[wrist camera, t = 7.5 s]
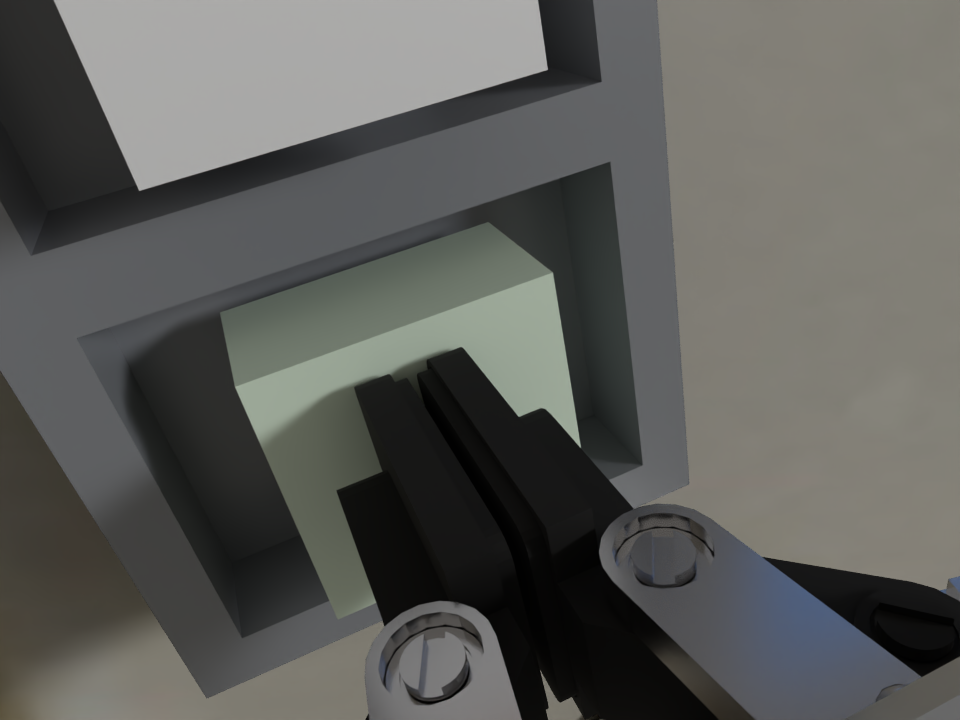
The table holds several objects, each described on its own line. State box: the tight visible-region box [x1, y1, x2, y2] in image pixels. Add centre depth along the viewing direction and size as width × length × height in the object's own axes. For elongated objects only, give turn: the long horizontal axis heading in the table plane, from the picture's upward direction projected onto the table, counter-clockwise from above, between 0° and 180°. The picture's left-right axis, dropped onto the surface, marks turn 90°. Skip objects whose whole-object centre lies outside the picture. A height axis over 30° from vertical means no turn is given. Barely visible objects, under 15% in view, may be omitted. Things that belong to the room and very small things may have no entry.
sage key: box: [220, 222, 581, 619], centre depth 13 cm, size 5×5×2 cm
